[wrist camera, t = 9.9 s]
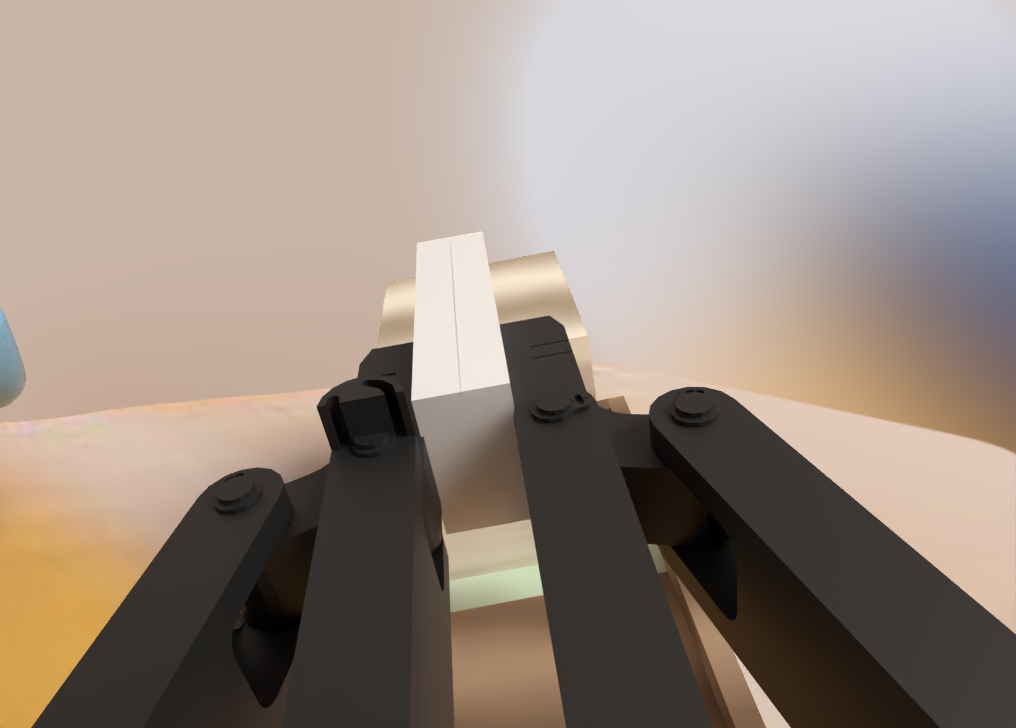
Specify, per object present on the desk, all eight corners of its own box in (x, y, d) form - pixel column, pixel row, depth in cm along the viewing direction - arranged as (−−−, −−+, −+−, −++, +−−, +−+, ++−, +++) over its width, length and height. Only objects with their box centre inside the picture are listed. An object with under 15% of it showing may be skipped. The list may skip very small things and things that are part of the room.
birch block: (435, 462, 45) (386, 282, 39) (580, 434, 45) (553, 250, 39) (435, 583, 36) (372, 376, 30) (615, 549, 36) (587, 335, 30)
